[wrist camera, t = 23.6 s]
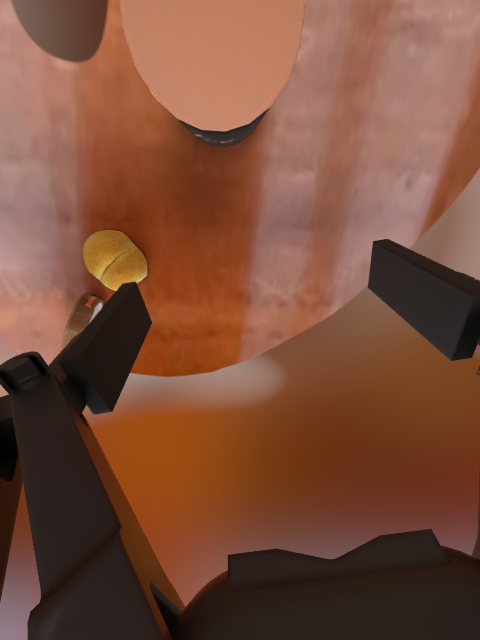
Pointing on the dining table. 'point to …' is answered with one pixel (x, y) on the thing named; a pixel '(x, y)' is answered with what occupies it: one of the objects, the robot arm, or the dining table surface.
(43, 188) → the dining table surface
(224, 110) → the coffee jar
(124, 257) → the bread roll
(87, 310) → the tin
